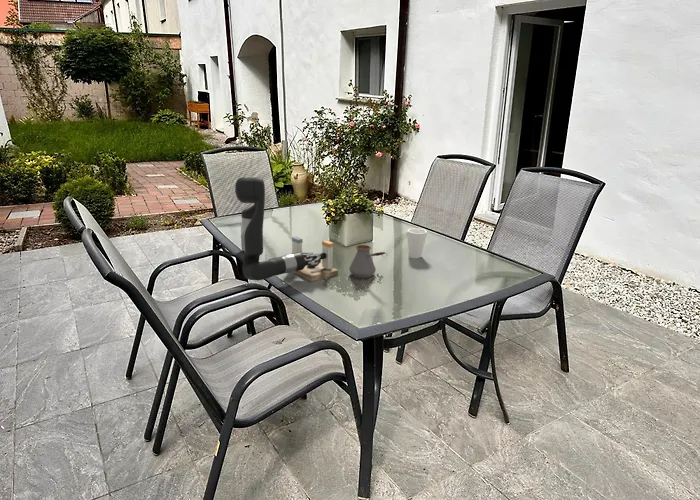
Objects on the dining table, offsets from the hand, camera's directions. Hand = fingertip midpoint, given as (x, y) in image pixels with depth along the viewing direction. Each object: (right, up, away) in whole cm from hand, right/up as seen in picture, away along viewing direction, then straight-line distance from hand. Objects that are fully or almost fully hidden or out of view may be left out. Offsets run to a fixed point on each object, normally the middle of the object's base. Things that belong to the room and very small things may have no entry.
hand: (325, 255), depth 200 cm
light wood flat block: (-6, -7, +5) cm, 11 cm away
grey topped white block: (-13, -4, +7) cm, 15 cm away
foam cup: (+43, -1, +29) cm, 52 cm away
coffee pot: (+19, -10, -1) cm, 21 cm away
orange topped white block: (+1, -5, +3) cm, 6 cm away
